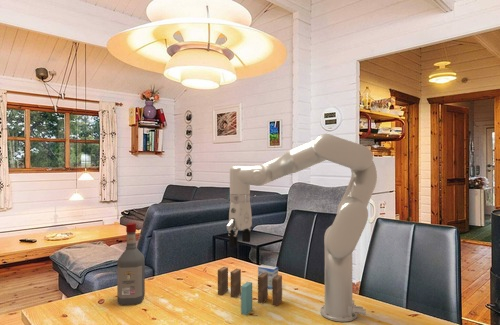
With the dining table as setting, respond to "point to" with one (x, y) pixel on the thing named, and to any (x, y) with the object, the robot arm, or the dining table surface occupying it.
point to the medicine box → (271, 273)
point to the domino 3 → (246, 298)
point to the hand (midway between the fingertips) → (240, 244)
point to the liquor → (131, 271)
